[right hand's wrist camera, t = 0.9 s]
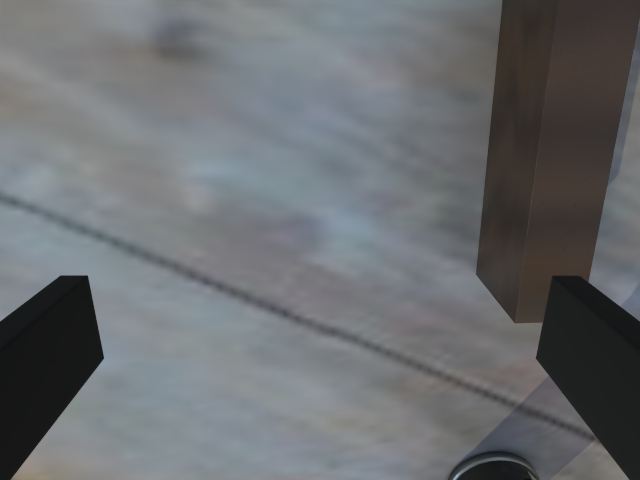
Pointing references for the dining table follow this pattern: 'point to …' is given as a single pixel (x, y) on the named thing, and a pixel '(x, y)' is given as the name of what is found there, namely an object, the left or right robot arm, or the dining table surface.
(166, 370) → the dining table surface
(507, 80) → the walnut plank
